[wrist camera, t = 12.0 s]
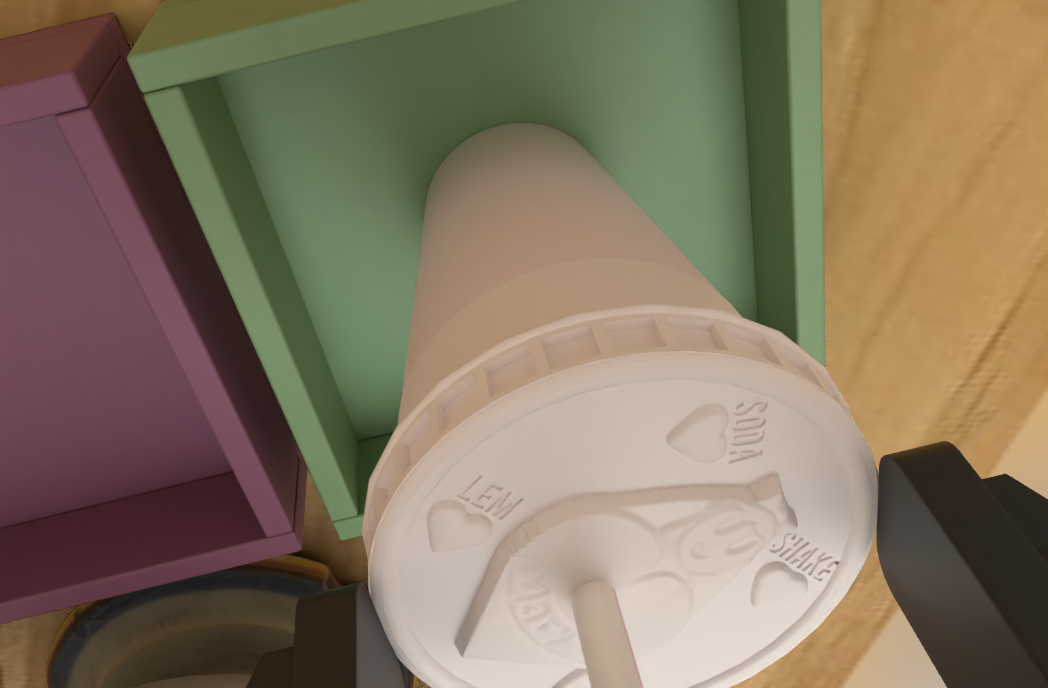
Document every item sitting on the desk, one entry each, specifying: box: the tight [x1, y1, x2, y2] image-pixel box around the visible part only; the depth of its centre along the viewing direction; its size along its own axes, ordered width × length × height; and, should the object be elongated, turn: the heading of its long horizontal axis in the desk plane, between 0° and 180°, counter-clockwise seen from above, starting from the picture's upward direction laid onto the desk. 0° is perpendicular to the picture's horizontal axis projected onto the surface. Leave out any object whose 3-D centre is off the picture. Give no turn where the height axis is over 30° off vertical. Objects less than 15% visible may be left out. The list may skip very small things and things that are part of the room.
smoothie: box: [362, 123, 879, 688], centre depth 14 cm, size 6×6×14 cm
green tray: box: [127, 0, 825, 540], centre depth 19 cm, size 11×11×3 cm
